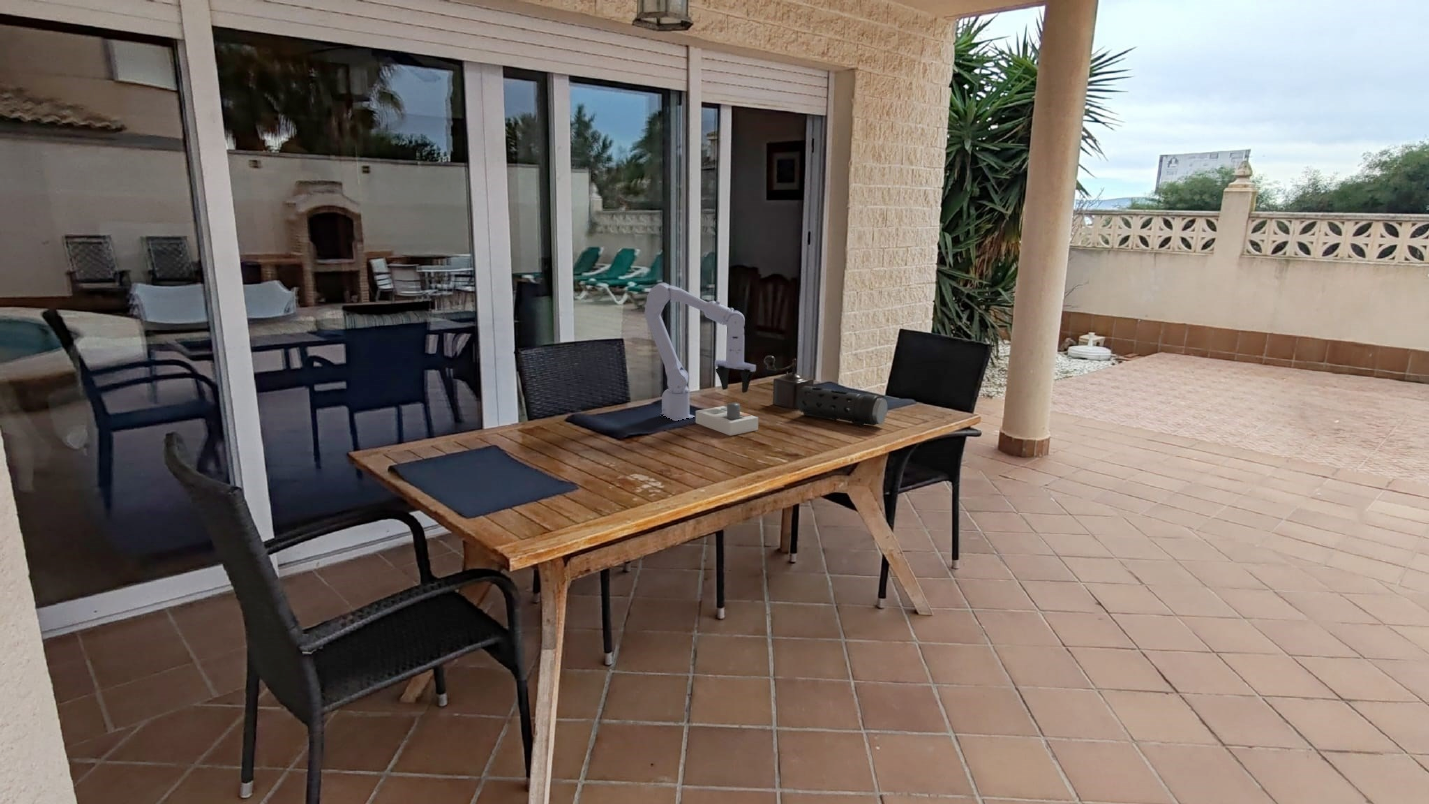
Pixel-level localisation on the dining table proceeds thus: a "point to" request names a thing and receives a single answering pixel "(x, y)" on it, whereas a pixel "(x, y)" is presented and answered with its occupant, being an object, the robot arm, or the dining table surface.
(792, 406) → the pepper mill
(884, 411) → the muzzle brake
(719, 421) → the socket block
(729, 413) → the peg
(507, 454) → the dining table surface
